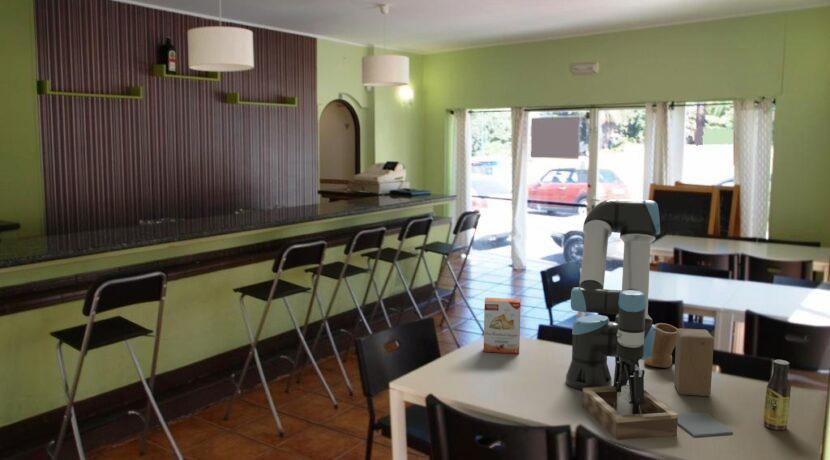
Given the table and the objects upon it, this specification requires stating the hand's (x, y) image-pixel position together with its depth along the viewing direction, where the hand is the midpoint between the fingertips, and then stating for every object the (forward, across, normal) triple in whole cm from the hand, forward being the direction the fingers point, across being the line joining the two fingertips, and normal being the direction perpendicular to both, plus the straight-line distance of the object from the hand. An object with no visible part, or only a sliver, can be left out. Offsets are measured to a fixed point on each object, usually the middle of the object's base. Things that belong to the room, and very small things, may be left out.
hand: (627, 417), depth 202 cm
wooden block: (+1, -18, +32) cm, 37 cm away
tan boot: (+1, -45, +36) cm, 58 cm away
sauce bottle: (+1, +12, +40) cm, 42 cm away
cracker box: (+1, -69, -18) cm, 71 cm away
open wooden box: (+1, 0, 0) cm, 1 cm away
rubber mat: (+1, +7, +19) cm, 20 cm away
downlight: (+1, 0, 0) cm, 1 cm away
